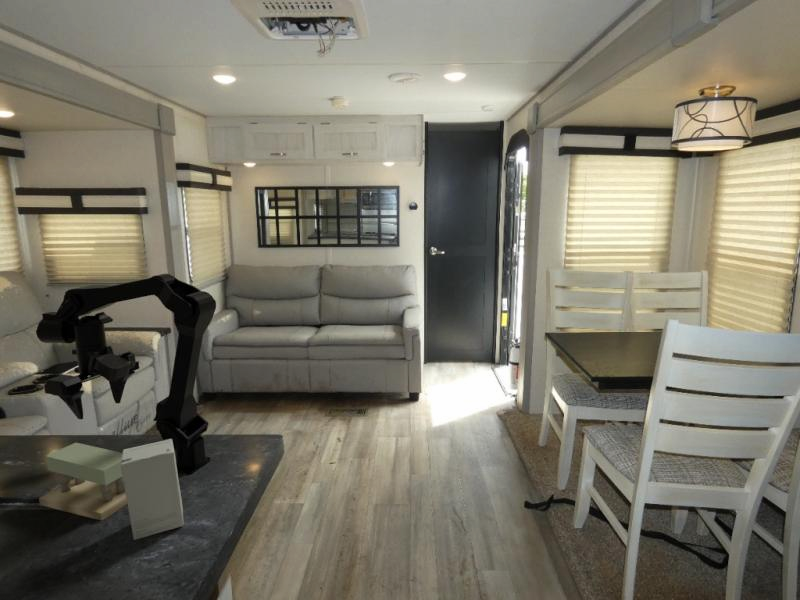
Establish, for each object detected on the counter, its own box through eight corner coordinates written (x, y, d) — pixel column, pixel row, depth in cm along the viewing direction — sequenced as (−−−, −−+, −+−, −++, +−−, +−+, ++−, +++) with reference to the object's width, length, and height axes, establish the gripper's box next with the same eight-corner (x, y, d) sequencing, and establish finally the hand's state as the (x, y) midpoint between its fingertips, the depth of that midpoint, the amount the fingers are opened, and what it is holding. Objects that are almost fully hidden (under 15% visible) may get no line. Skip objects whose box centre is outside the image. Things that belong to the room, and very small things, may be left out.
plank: (47, 470, 94) (45, 456, 93) (77, 455, 99) (75, 442, 99) (105, 485, 88) (103, 470, 87) (134, 469, 93) (132, 455, 93)
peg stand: (146, 490, 97) (143, 463, 96) (102, 520, 87) (97, 490, 86) (87, 478, 102) (84, 452, 101) (40, 505, 93) (35, 476, 91)
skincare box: (182, 510, 90) (175, 436, 88) (184, 528, 85) (175, 450, 82) (132, 522, 87) (122, 446, 84) (130, 542, 81) (119, 462, 79)
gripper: (77, 358, 93) (88, 433, 96) (154, 335, 111) (160, 399, 113) (37, 354, 97) (48, 426, 99) (117, 332, 114) (125, 394, 117)
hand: (100, 410), depth 107 cm, fingers open, 9 cm apart
